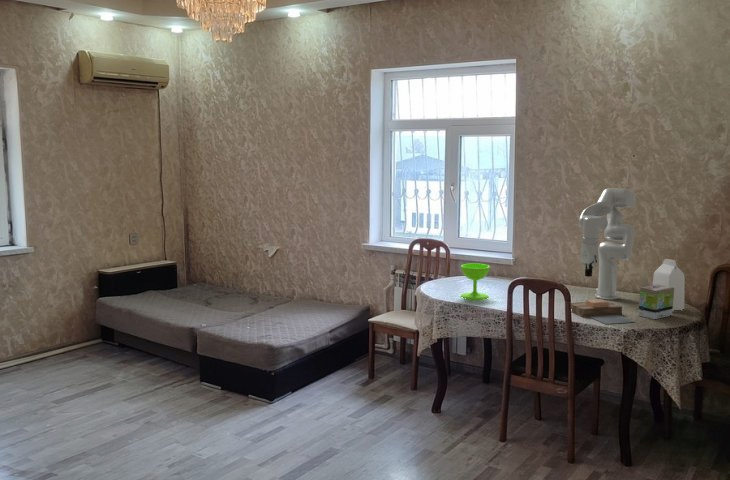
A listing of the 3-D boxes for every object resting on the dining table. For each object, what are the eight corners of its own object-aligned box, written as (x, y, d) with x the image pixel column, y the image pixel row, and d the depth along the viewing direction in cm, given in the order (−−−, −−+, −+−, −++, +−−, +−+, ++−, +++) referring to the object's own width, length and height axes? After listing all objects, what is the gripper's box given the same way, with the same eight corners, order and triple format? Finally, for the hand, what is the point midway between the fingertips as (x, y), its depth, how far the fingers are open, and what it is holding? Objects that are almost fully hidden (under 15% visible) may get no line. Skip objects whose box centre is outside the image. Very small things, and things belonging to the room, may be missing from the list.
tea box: (656, 320, 328) (658, 290, 326) (637, 316, 336) (639, 287, 334) (672, 315, 337) (674, 286, 334) (654, 311, 345) (655, 283, 342)
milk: (649, 306, 355) (652, 258, 351) (666, 304, 359) (669, 257, 355) (667, 312, 344) (670, 262, 340) (684, 310, 348) (687, 260, 344)
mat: (589, 317, 333) (589, 316, 333) (617, 315, 337) (617, 314, 337) (605, 324, 320) (605, 323, 319) (635, 322, 323) (635, 321, 323)
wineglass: (493, 296, 379) (494, 265, 377) (482, 301, 366) (483, 269, 364) (467, 293, 388) (467, 262, 385) (455, 298, 374) (456, 266, 372)
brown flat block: (568, 310, 347) (568, 303, 346) (605, 308, 352) (606, 300, 351) (582, 317, 333) (583, 309, 333) (621, 314, 338) (622, 306, 338)
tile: (586, 304, 342) (586, 300, 342) (601, 304, 344) (601, 299, 344) (592, 307, 336) (592, 302, 336) (608, 306, 338) (608, 301, 338)
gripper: (575, 239, 350) (574, 274, 353) (591, 243, 336) (590, 279, 338) (588, 239, 352) (586, 273, 355) (605, 242, 338) (603, 278, 340)
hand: (588, 276), depth 347 cm, fingers closed
